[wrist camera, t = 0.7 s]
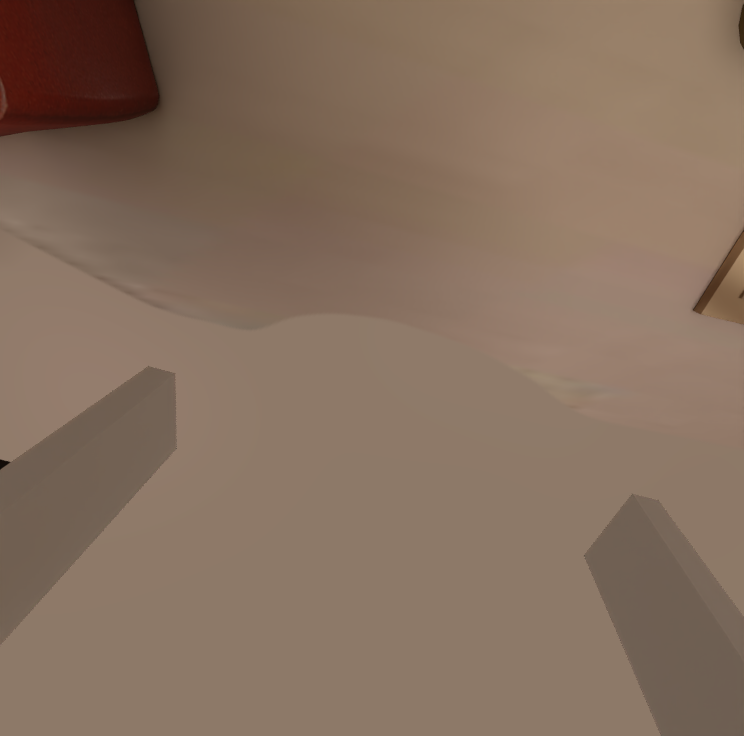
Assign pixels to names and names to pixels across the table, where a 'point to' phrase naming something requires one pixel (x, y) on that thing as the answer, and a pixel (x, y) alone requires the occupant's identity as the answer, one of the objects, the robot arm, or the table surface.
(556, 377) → the table surface
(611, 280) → the table surface
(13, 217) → the table surface
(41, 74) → the plant pot
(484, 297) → the table surface
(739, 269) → the board
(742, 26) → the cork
